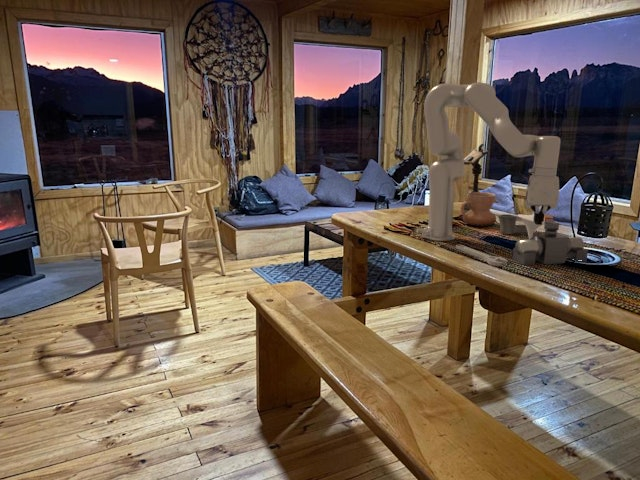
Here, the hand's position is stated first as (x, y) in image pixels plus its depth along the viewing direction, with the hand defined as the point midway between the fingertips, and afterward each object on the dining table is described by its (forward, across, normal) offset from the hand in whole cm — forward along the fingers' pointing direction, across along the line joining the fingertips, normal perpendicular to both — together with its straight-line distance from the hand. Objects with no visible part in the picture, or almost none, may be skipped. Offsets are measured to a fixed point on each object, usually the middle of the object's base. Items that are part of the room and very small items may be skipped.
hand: (538, 223), depth 172 cm
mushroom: (+11, +3, +16) cm, 20 cm away
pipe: (+11, 0, +28) cm, 30 cm away
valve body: (+11, +1, -10) cm, 14 cm away
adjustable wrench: (+12, -20, -6) cm, 24 cm away
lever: (0, +3, -3) cm, 4 cm away
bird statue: (+12, -9, +73) cm, 74 cm away
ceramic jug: (+12, -11, +45) cm, 48 cm away
